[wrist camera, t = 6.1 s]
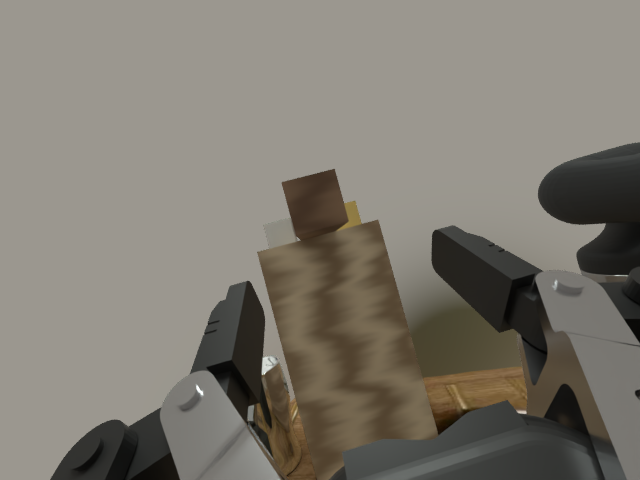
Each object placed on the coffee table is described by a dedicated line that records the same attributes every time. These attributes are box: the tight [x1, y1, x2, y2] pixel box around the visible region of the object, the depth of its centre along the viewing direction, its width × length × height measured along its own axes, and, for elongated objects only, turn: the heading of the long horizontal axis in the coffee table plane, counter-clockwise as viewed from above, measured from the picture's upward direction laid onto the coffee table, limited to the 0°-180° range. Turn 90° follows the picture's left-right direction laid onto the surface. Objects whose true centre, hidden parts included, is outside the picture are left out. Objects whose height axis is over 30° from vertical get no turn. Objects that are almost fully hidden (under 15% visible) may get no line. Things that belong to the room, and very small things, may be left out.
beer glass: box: [248, 355, 302, 476], centre depth 36 cm, size 7×7×15 cm
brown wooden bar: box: [282, 169, 349, 240], centre depth 28 cm, size 4×23×4 cm, turn 3°
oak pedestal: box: [257, 220, 438, 480], centre depth 32 cm, size 14×14×32 cm
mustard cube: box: [336, 201, 362, 231], centre depth 36 cm, size 4×4×4 cm
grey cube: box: [263, 218, 297, 249], centre depth 35 cm, size 4×4×4 cm
